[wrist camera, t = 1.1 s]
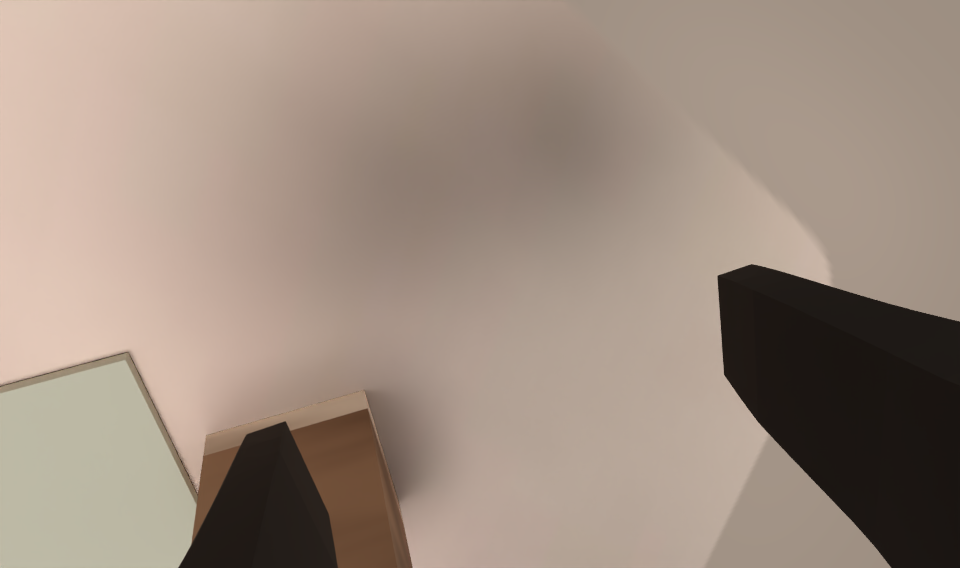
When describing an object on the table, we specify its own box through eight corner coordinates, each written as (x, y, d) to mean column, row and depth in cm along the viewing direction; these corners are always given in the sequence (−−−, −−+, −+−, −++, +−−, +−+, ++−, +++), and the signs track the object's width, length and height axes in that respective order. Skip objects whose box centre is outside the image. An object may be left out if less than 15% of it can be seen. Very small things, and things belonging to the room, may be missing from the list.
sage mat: (259, 623, 26) (259, 633, 26) (-31, 717, 25) (-35, 729, 25) (127, 352, 21) (125, 359, 20) (-257, 455, 19) (-267, 465, 19)
